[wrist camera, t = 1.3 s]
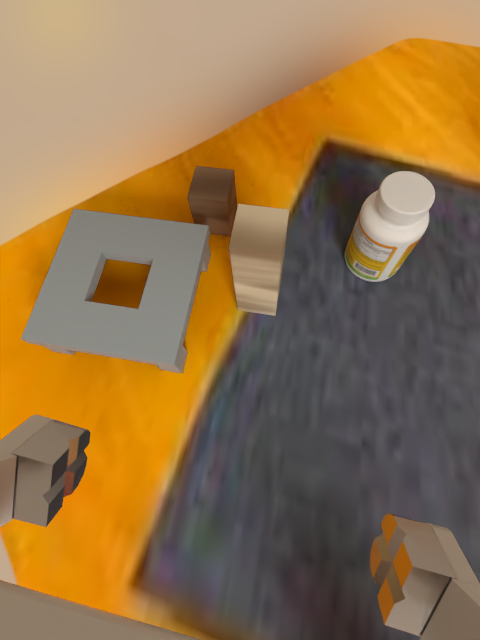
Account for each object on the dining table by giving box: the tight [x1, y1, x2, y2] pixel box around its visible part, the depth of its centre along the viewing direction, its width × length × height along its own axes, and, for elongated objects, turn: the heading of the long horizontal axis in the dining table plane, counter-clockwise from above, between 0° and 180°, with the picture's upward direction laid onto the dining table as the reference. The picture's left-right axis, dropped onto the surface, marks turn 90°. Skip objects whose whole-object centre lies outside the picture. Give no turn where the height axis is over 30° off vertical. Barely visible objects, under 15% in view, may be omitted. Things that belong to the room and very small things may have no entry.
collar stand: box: [21, 209, 211, 373], centre depth 34 cm, size 13×13×4 cm
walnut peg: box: [188, 166, 237, 237], centre depth 37 cm, size 4×4×6 cm
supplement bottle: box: [345, 171, 435, 282], centre depth 32 cm, size 5×5×10 cm
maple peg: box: [229, 204, 289, 316], centre depth 31 cm, size 4×4×11 cm
